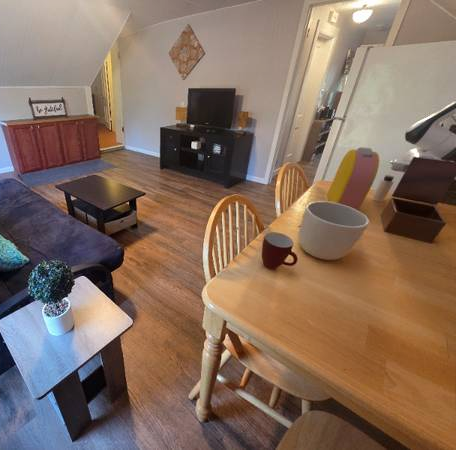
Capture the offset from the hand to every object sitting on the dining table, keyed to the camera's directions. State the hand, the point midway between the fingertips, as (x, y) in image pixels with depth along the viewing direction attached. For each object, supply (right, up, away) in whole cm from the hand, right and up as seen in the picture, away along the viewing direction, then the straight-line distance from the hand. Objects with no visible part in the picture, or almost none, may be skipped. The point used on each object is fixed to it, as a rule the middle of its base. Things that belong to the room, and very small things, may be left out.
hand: (428, 174), depth 93 cm
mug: (-67, -33, -15) cm, 76 cm away
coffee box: (-5, -21, +4) cm, 22 cm away
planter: (-48, -29, -8) cm, 56 cm away
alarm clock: (-17, -10, +22) cm, 30 cm away
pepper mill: (+5, -7, +27) cm, 28 cm away
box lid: (-1, -3, +1) cm, 3 cm away
